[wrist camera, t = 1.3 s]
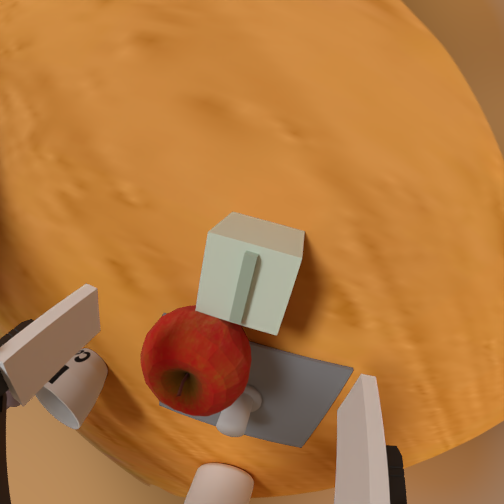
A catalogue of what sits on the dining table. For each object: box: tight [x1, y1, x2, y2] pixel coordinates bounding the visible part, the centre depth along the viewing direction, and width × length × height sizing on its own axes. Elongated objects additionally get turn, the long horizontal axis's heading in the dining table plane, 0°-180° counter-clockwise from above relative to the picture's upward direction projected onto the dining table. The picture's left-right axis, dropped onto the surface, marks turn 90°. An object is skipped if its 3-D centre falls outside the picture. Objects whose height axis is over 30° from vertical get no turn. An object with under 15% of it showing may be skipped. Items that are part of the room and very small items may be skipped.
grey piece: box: [159, 313, 353, 448], centre depth 28 cm, size 20×16×5 cm
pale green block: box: [195, 212, 305, 336], centre depth 22 cm, size 6×6×7 cm
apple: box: [141, 305, 252, 416], centre depth 22 cm, size 9×8×11 cm
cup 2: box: [184, 463, 254, 504], centre depth 35 cm, size 10×10×10 cm
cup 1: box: [35, 348, 108, 429], centre depth 31 cm, size 8×8×10 cm
